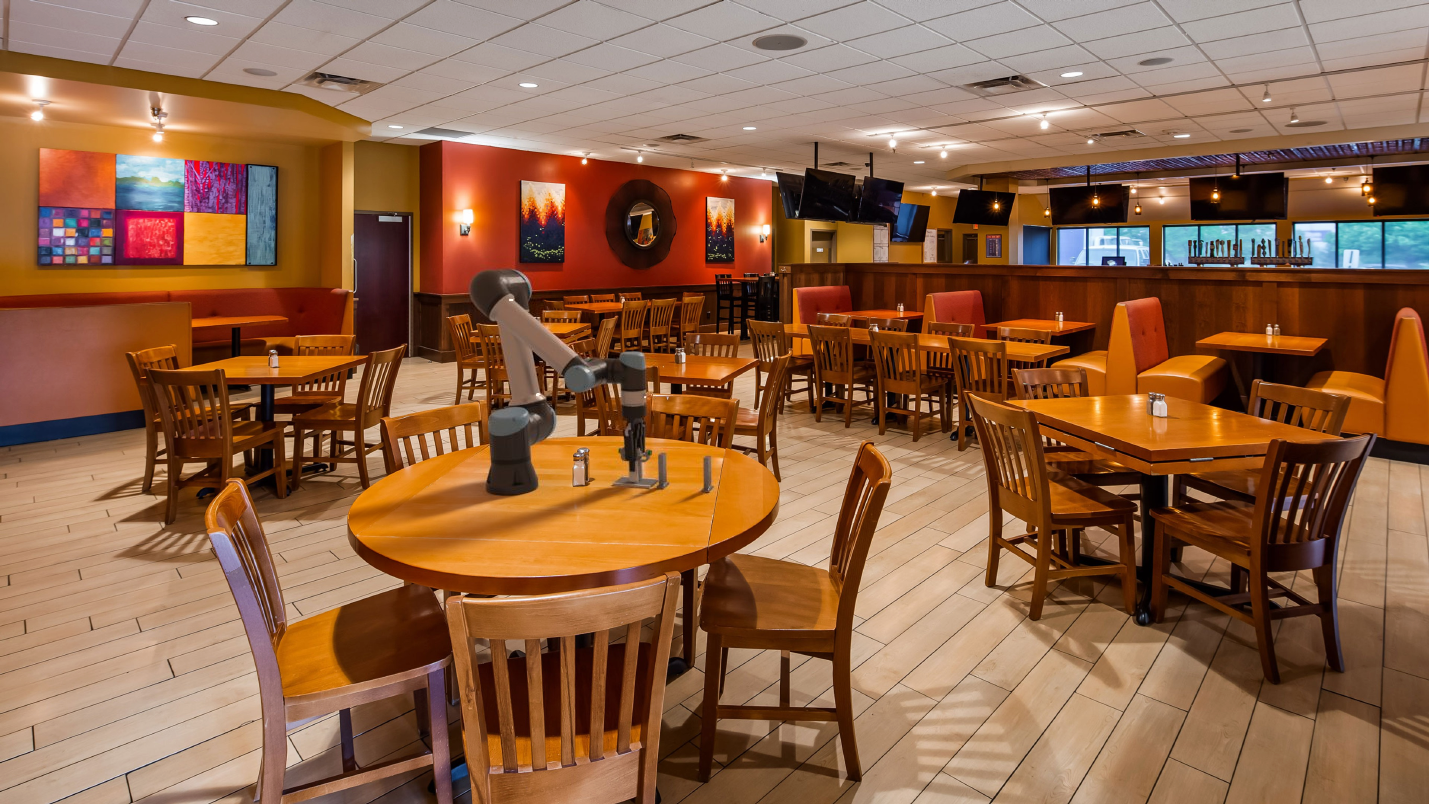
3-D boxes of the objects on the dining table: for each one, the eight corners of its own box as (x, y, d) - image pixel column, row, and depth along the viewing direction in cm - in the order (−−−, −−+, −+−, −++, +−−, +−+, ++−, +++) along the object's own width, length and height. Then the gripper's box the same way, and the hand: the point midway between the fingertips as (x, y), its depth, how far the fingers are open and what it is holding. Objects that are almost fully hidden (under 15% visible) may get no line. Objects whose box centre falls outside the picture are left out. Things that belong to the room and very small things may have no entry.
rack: (656, 488, 231) (655, 455, 229) (661, 483, 236) (661, 451, 234) (709, 492, 226) (708, 459, 224) (713, 487, 231) (713, 455, 229)
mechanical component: (650, 483, 233) (649, 450, 231) (618, 480, 236) (617, 448, 234) (653, 480, 236) (652, 448, 234) (622, 477, 239) (621, 446, 237)
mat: (612, 485, 234) (612, 483, 234) (622, 478, 242) (622, 476, 242) (649, 488, 231) (649, 486, 231) (659, 480, 238) (659, 478, 238)
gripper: (635, 409, 223) (637, 488, 227) (655, 399, 238) (656, 473, 243) (611, 408, 225) (614, 486, 229) (632, 398, 240) (634, 471, 245)
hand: (636, 479), depth 236 cm, fingers closed on mechanical component, 3 cm apart
